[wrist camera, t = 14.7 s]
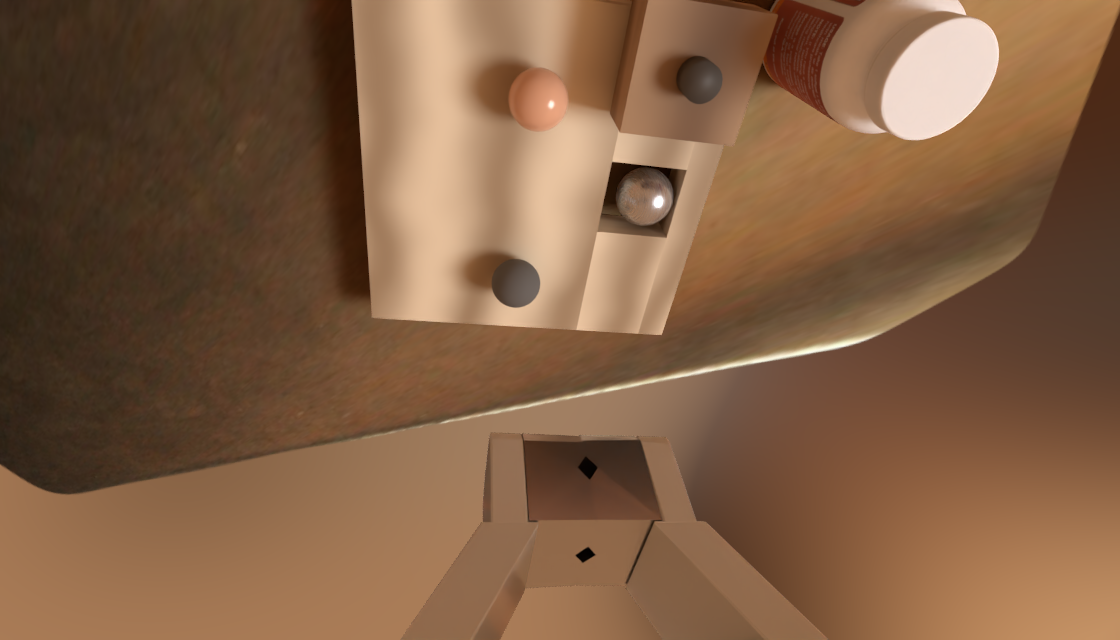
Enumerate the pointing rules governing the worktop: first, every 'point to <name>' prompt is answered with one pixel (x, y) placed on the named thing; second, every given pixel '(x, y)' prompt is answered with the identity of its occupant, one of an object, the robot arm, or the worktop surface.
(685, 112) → the cover
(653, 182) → the steel ball
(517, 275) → the black rubber ball
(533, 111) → the terracotta ball
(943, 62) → the pill bottle
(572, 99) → the board
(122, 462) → the worktop surface
